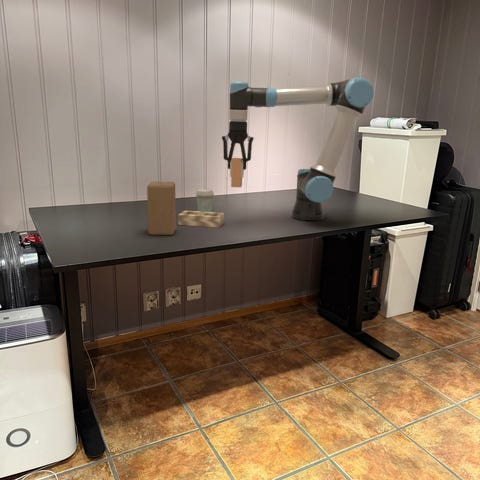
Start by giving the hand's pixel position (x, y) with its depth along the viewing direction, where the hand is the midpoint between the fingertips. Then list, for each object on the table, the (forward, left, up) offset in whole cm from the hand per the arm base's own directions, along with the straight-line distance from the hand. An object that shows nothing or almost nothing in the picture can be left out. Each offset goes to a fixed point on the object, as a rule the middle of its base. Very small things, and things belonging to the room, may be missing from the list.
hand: (236, 176), depth 201 cm
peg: (0, 0, -4) cm, 4 cm away
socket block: (+14, +4, -21) cm, 26 cm away
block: (+26, +23, -21) cm, 40 cm away
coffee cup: (+17, -13, -21) cm, 30 cm away
